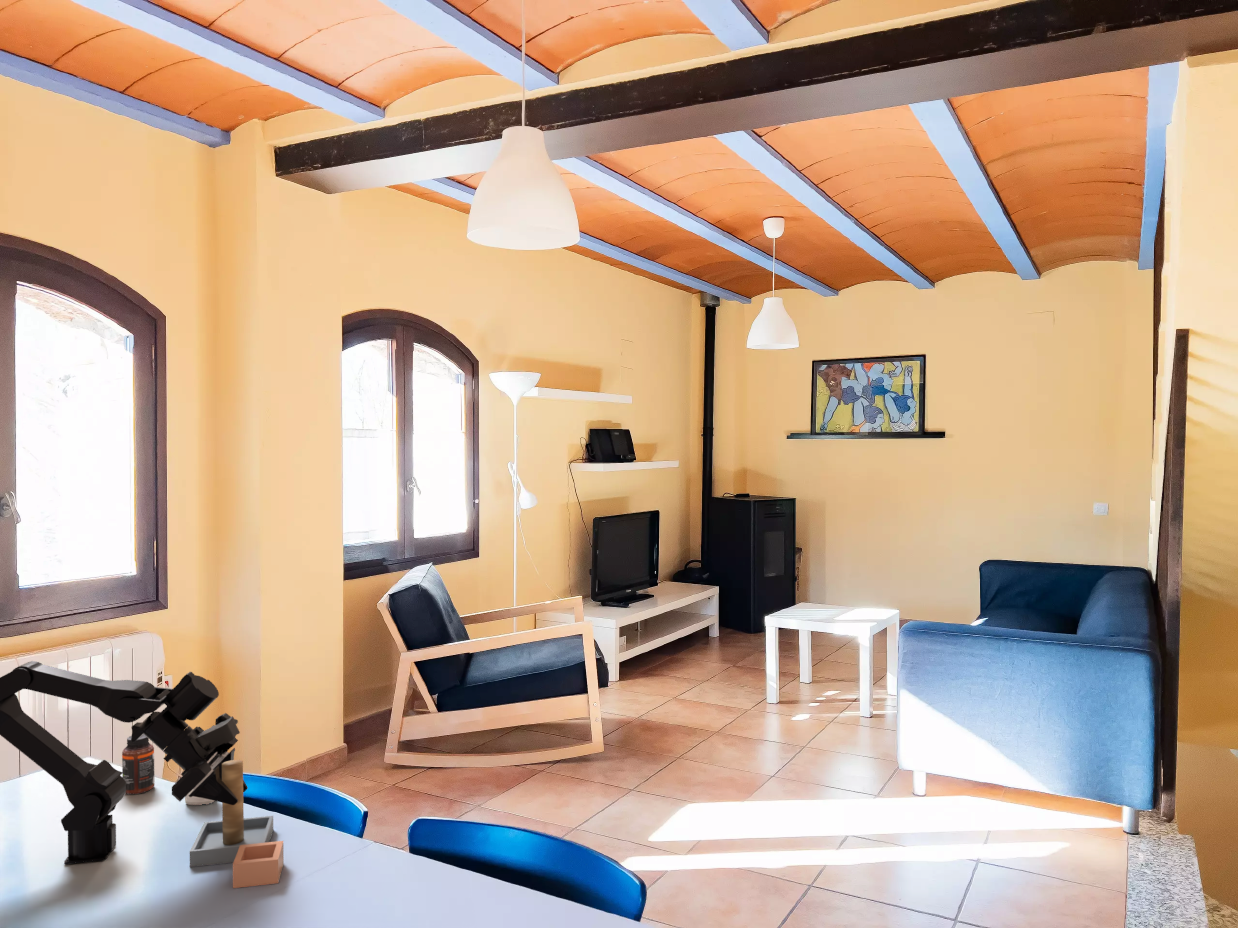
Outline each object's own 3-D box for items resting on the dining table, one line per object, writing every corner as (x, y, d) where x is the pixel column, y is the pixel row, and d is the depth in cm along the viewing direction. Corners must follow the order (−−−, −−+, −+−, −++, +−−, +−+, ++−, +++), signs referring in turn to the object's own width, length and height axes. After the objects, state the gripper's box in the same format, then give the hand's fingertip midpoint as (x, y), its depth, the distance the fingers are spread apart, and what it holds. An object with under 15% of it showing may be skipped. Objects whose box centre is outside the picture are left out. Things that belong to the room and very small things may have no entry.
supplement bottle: (160, 784, 188) (160, 732, 187) (143, 795, 182) (142, 741, 182) (134, 783, 188) (134, 731, 188) (116, 794, 182) (115, 740, 182)
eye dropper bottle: (201, 808, 176) (200, 749, 175) (181, 803, 178) (181, 744, 178) (219, 800, 180) (219, 742, 179) (200, 795, 182) (199, 738, 182)
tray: (189, 866, 152) (189, 851, 152) (204, 836, 163) (204, 822, 163) (264, 858, 155) (264, 843, 155) (273, 829, 166) (273, 815, 166)
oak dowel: (224, 846, 156) (223, 767, 157) (221, 839, 159) (220, 762, 160) (245, 841, 158) (244, 763, 159) (241, 834, 161) (240, 758, 161)
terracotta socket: (232, 888, 145) (232, 864, 144) (240, 867, 151) (240, 844, 151) (278, 882, 146) (278, 859, 146) (283, 863, 153) (283, 840, 153)
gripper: (190, 722, 149) (259, 783, 150) (225, 690, 167) (286, 746, 169) (141, 770, 148) (211, 831, 149) (182, 733, 166) (244, 788, 168)
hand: (241, 796), depth 159 cm, fingers open, 5 cm apart
